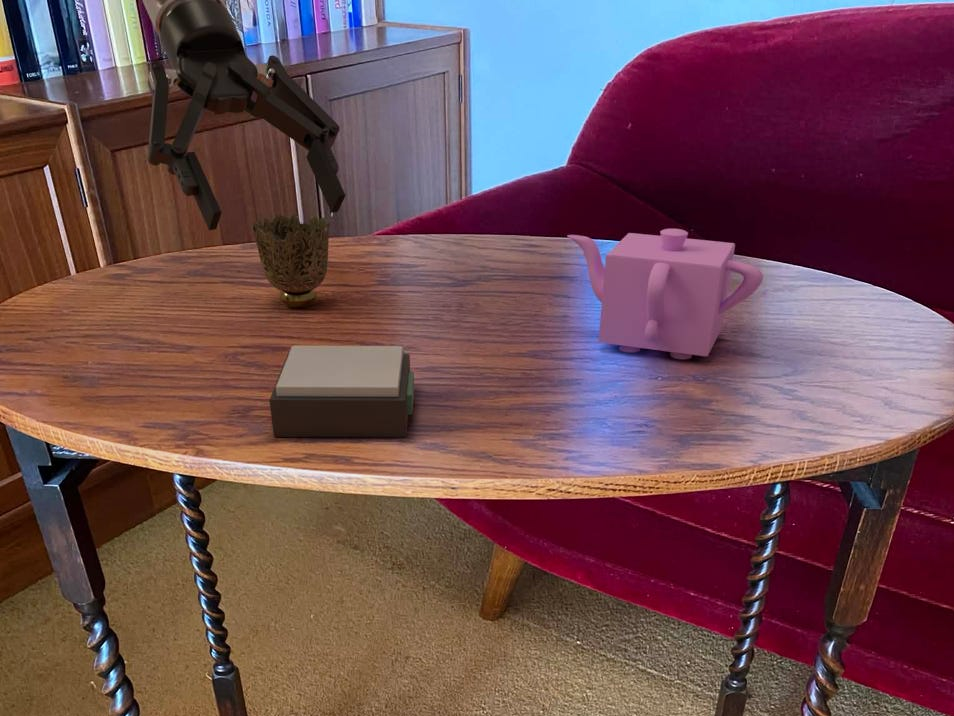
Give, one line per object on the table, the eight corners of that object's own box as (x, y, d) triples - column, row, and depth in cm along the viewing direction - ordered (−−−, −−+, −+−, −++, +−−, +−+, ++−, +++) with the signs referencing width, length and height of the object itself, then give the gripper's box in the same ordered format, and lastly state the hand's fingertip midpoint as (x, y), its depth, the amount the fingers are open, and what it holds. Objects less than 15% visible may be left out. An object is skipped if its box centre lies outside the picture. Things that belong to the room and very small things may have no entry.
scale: (273, 437, 72) (267, 388, 70) (291, 387, 81) (286, 343, 78) (411, 437, 73) (410, 389, 70) (415, 388, 81) (414, 343, 79)
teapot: (541, 352, 88) (547, 236, 83) (581, 309, 99) (589, 203, 93) (739, 379, 84) (761, 257, 78) (758, 331, 94) (778, 221, 88)
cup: (249, 311, 97) (239, 227, 92) (279, 291, 103) (270, 211, 98) (319, 318, 96) (312, 233, 91) (345, 297, 101) (339, 216, 97)
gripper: (294, 48, 106) (373, 219, 105) (66, 58, 94) (153, 252, 93) (313, -8, 100) (397, 174, 99) (71, -4, 87) (164, 203, 87)
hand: (279, 212), depth 96 cm, fingers open, 13 cm apart
